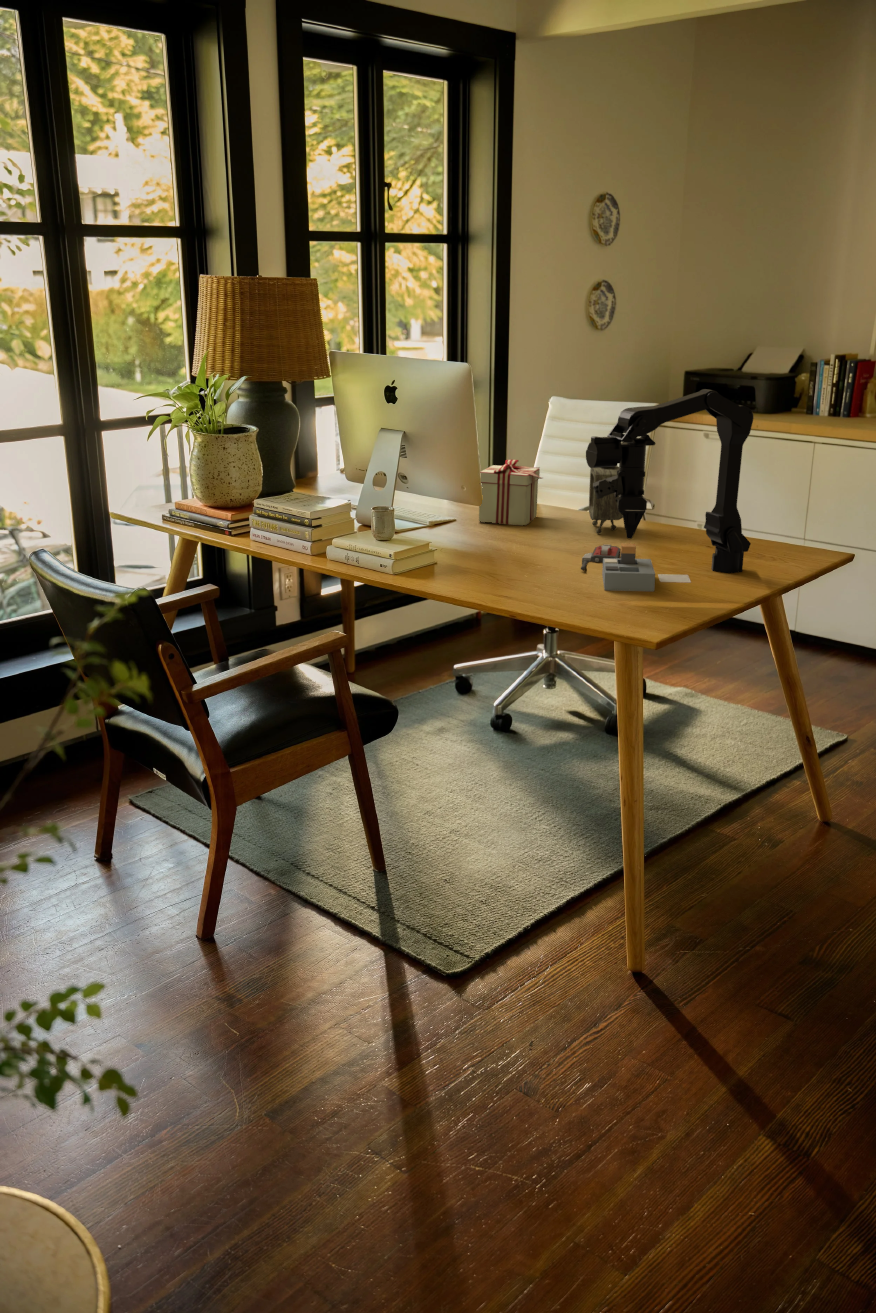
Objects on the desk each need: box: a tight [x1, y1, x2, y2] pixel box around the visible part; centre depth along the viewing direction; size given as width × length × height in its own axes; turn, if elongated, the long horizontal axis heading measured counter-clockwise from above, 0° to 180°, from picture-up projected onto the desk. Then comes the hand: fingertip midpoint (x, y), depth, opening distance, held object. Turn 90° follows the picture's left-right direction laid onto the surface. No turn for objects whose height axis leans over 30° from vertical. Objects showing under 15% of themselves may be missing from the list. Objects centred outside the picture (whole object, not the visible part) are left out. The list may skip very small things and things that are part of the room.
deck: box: [657, 573, 692, 584], centre depth 252 cm, size 7×7×1 cm
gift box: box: [478, 459, 543, 526], centre depth 320 cm, size 17×18×17 cm
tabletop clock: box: [588, 464, 623, 535], centre depth 303 cm, size 14×9×25 cm, turn 178°
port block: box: [601, 557, 656, 592], centre depth 248 cm, size 11×14×5 cm
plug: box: [619, 542, 637, 564], centre depth 250 cm, size 3×3×8 cm
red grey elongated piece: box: [580, 544, 621, 571], centre depth 269 cm, size 9×4×20 cm
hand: (628, 534), depth 248 cm, fingers open, 9 cm apart
